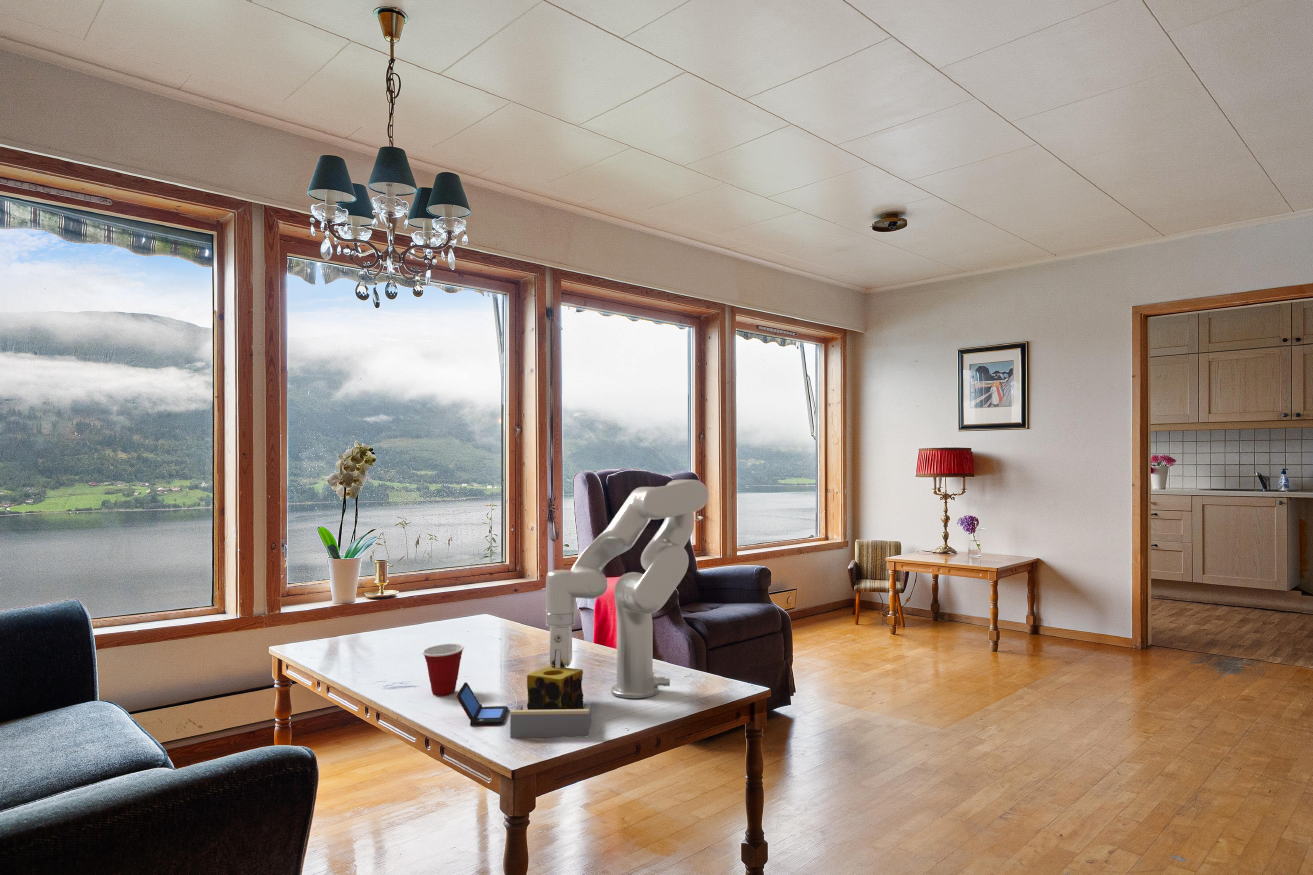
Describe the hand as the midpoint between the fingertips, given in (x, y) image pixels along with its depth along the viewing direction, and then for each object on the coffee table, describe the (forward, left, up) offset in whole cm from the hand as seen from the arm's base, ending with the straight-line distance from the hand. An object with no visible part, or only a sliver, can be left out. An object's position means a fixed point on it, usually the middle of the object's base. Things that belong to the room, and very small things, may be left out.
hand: (559, 691), depth 195 cm
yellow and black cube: (0, +9, -3) cm, 9 cm away
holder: (0, +21, -3) cm, 21 cm away
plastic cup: (+32, -9, -3) cm, 33 cm away
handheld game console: (+17, +12, -3) cm, 21 cm away
